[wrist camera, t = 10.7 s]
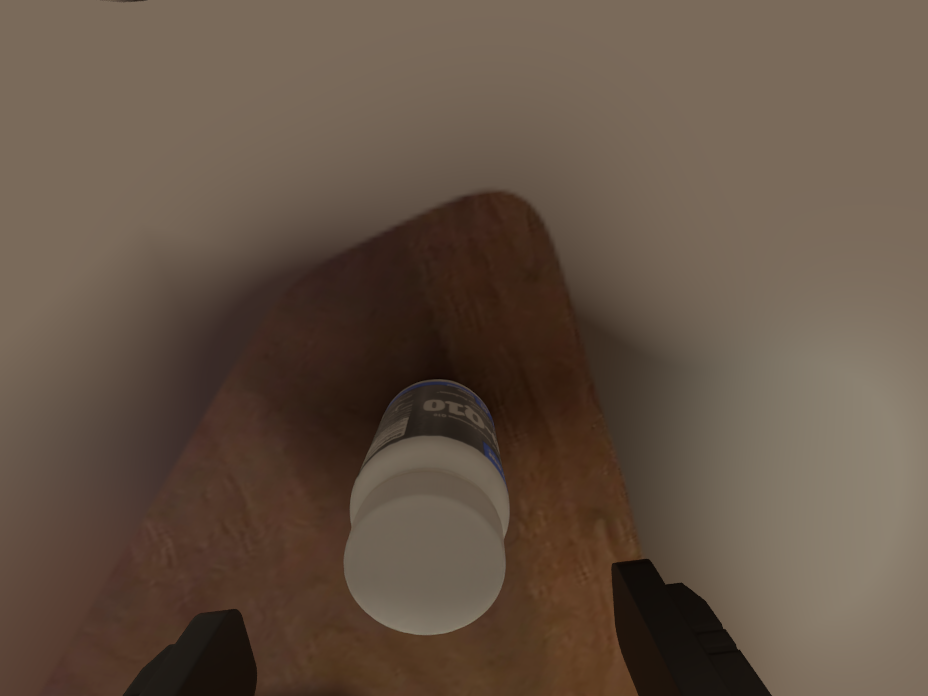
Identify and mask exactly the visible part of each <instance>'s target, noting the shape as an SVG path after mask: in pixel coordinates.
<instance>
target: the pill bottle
mask: <svg viewBox="0 0 928 696" xmlns="http://www.w3.org/2000/svg"><path fill="white" fill-rule="evenodd" d="M509 514H510V510H509V496H508V490H507V486H506V481H505V477H504V472H503V468H502V463H501V458H500V452H499V448H498V443H497V438H496V433H495V428H494V423H493V420H492V417H491V415H490V412H489V410H488V408H487V407H486V405H485V404H484V402H483V401H482V400H481V399H480V398H479V397H478V396H477V395H476V394H475V393H474V392H473V391H471V390H470V389H469V388H467V387H465V386H464V385H462V384H459V383H457V382H454V381H450V380H442V379H433V380H425V381H421V382H418V383H415V384H413V385H411V386H409V387H407V388H405V389H404V390H403V391H401V392H400V393H399V394H398V395H397V396H396V397H395V398H394V399H393V400H392V401H391V403H390V404H389V406H388V407H387V409H386V411H385V413H384V415H383V418H382V420H381V422H380V425H379V427H378V429H377V432H376V434H375V436H374V439H373V441H372V444H371V446H370V448H369V451H368V453H367V455H366V458H365V460H364V462H363V465H362V467H361V469H360V472H359V474H358V476H357V478H356V480H355V484H354V487H353V489H352V494H351V500H350V520H351V525H352V528H351V532H350V535H349V538H348V541H347V544H346V548H345V553H344V574H345V578H346V582H347V585H348V587H349V590H350V592H351V594H352V596H353V597H354V599H355V600H356V602H357V603H358V604H359V605H360V607H361V608H362V609H363V610H364V611H365V612H366V613H367V614H369V615H370V616H371V617H372V618H373V619H375V620H377V621H378V622H380V623H382V624H383V625H385V626H387V627H390V628H392V629H395V630H398V631H401V632H405V633H411V634H417V635H435V634H443V633H448V632H451V631H454V630H456V629H459V628H462V627H464V626H466V625H468V624H470V623H472V622H473V621H475V620H476V619H477V618H479V617H480V616H481V615H482V614H483V613H485V612H486V611H487V610H488V609H489V607H490V606H491V605H492V604H493V602H494V601H495V599H496V598H497V596H498V594H499V592H500V589H501V587H502V584H503V581H504V576H505V568H506V559H505V549H504V537H505V535H506V532H507V528H508V524H509Z"/></svg>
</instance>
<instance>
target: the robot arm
mask: <svg viewBox="0 0 928 696" xmlns="http://www.w3.org/2000/svg"><path fill="white" fill-rule="evenodd" d="M611 570H612V586H613V601H614V616H615V627H616V633H617V637H618V642H619V645H620V649H621V652H622V655H623V658H624V661H625V663H626V666H627V668H628V670H629V673H630V675H631V678H632V680H633V683H634V685H635V688H636V690H637V693H638V695H639V696H772V695H771V694H770V692H769V691H768V690H767V688H766V687H765V685H764V684H763V682H762V681H761V680H760V678H759V677H758V675H757V674H756V672H755V671H754V669H753V668H752V667H751V665H750V664H749V662H748V661H747V660H746V658H745V657H744V655H743V654H742V652H741V651H740V650H738V649H737V647H736V644H735V642H734V641H733V639H732V638H731V637H730V635H729V634H728V632H727V631H726V630H725V629H723V627H722V624H721V622H720V621H719V620H718V618H717V617H716V615H715V614H714V612H713V611H712V610H711V608H710V607H709V605H708V604H707V602H706V601H705V600H704V599H702V598H701V597H700V596H698V595H697V594H696V593H694V592H693V591H692V590H691V589H689V588H688V587H687V586H685V585H684V584H683V583H675V584H667V585H665V583H664V582H663V580H662V578H661V577H660V575H659V573H658V572H657V570H656V568H655V567H654V565H653V564H652V562H651V561H650V560H649V559H641V560H633V561H625V562H617V563H613V564H612V569H611ZM256 683H257V668H256V663H255V660H254V656H253V653H252V649H251V646H250V642H249V639H248V635H247V632H246V628H245V625H244V621H243V618H242V615H241V613H240V612H239V611H238V610H237V609H231V610H223V611H215V612H207V613H200V614H198V615H196V616H195V617H194V618H193V620H192V621H191V622H190V624H189V625H188V627H187V628H186V629H185V631H184V632H183V634H182V635H181V636H180V638H179V639H178V641H177V642H176V644H172V645H168V646H167V647H166V648H165V649H164V650H163V651H162V652H161V653H160V654H158V655H157V656H156V657H155V658H154V659H153V660H152V661H151V662H149V663H148V664H147V665H146V666H145V667H144V668H143V669H142V670H141V671H140V673H139V674H138V675H137V677H136V678H135V680H134V681H133V682H132V684H131V685H130V686H129V688H128V689H127V690H126V692H125V693H124V694H123V696H254V694H255V689H256Z"/></svg>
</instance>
